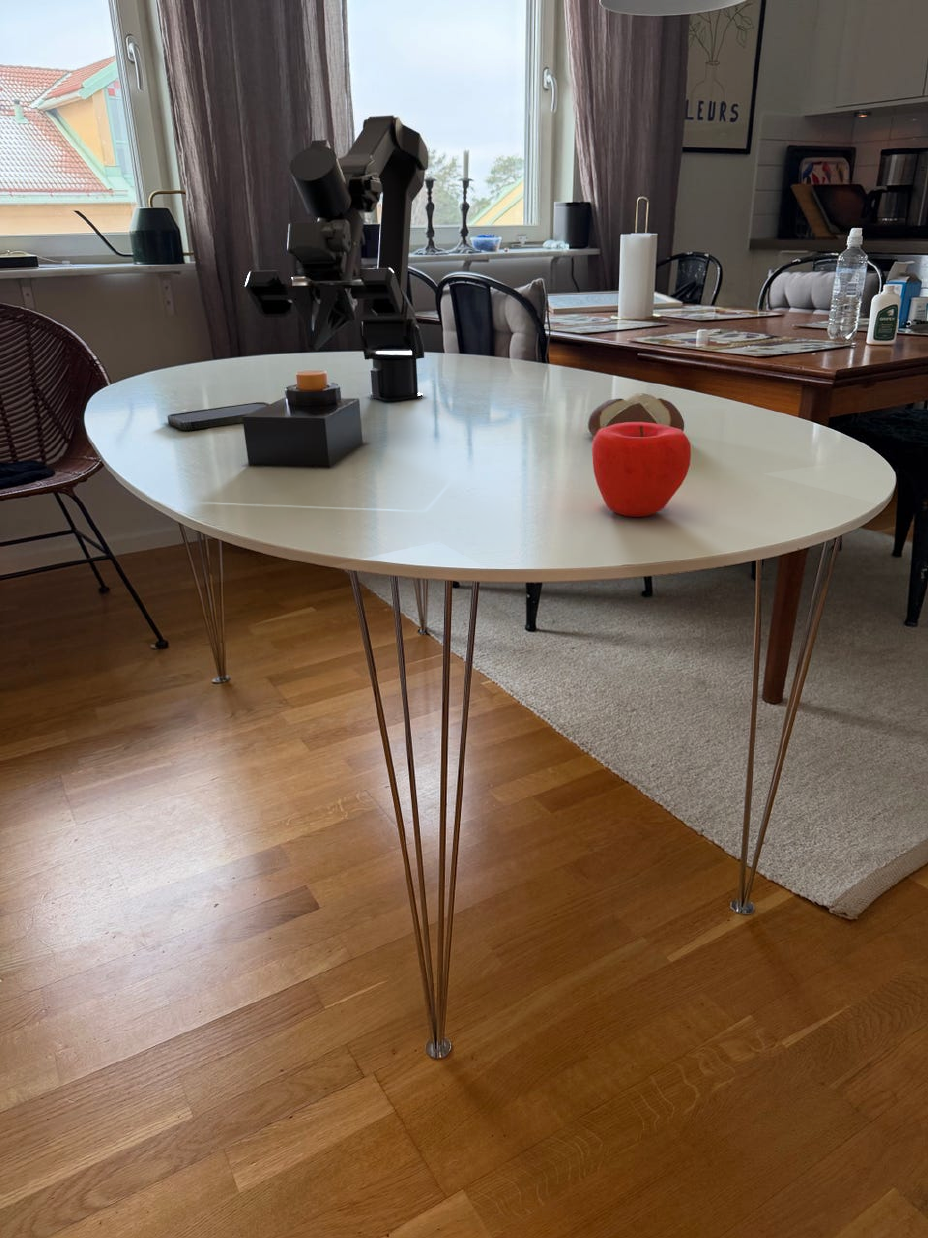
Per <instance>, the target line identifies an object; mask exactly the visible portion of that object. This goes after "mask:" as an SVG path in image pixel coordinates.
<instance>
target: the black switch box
mask: <svg viewBox="0 0 928 1238" xmlns="http://www.w3.org/2000/svg"><path fill="white" fill-rule="evenodd" d="M284 395H285V397H283V398H281V399H279V400H278V399H277V400H276V401H273V402H271V403H269V405H267V406H265V407H263V408H261V409H258V410H256V411H254V412H252V413H250V414H247V415H245V416H243V417H242V419H243V422H242V427H243V433H244V440H245V446H246V447H245V448H246V455H247V456H246V457H247V464H248V466H250V467H251V466H252V467H284V468H285V467H286V468H315V469H316V468H317V469H319V468H320V469H321V468H323V469H330V468H331V467H333V466H334V465H336V464H337V463H338V462H340V461H341V460H342V459H344V458H345V457H347V456H348V455H349V454H351V453H352V452H354V451H355V450H357V449H358V448H360V446H362V445H363V444H364V441H363V431H362V430H363V429H362V419H361V418H362V417H361V405H360V398H357V397H356V398H350V397H349V398H348V397H347V398H346V397H345V398H344V397H342V392H341V385H340V384H339V383H335V382H329V381H327V388H323V389H313V390H300V389H298V388H297V383H296V384H291V385H288V386H286V387H284Z"/></svg>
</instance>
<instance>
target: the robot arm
mask: <svg viewBox="0 0 928 1238" xmlns="http://www.w3.org/2000/svg"><path fill="white" fill-rule="evenodd" d="M428 168H429V150H428V147H427V144H426V142H425V140H424V139H423V137H422V135H421V134H420V133H419V132H418V131H416V130H414V129H413V128H411V127H409V126H407V125H405V124H404V123H403V121H402V120H401V118H400V117H399V116H395V115H394V114H393V115H392V114H391V115H378V116H369V117H368V118H365V119H363V122H362V130H361V131H360V133H359V134H358V136H357V137H356V139H355V141H354V142H353V143H352V145H351V147H350V149H349V150H348V152H347V153H346V154H345V155H344V156H342V157H339V158H338V156H337V153H336V152H335V151H334V149H332V148H331V146H330V143H329V141H328V139H318V140H316V139H315V140H311V143H310V146H309V147H307V148H304V149H302V150H301V151H299V152H298V153H297V154H296V155H295V156H294V157H293V158H292V159H291V160H290V163H289V172H290V174H291V178H292V179H293V181H294V184H295V186H296V188H297V190H298V193H299V195H300V198H301V200H302V203H303V205H304V208H305V209H306V212H307V215H308V216H310V217H311V216H312V217H315V218H317V221H316V220H315V221H293V222H292V221H291V222H290V223H288V232H287V247H286V252H287V253H288V254H289V255H291V256H292V257H294V259H295V260H296V265H295V269H296V271H297V273H298V276H292V277H291V279H290V281H291V282H292V283H287V282H286V279H285V278H284V276H283V273H282V271H281V270H279V269H277V270H275V269H274V270H273V269H272V270H250V271H249V273H248V275H247V278H246V281H245V285H244V288H245V289H246V291H247V293H248V294H249V297H250V298H251V300H252V302H253V303H254V305H255V307H256V309H257V311H258V312H259V314H260V315H261V316H262V317H264V318H267V319H268V318H286V317H288V316H289V315H290V314H292V312H293V309H294V308H295V310H296V312H297V315H298V316H299V318H300V320H301V321H303V327H304V333H305V339H306V347H307V348H308V350H309V352H317V351H318V350H319V349H320V348H321V347H322V346H323V345H324V344H325V343H326V342H328V340H329V339H330V338H331V337H332V336H333V335H334V334H335V333H337V332H338V331H339V330H340V329H341V328H343V327H344V326H345V325H346V324H348V323H349V322H354V321H355V320H356V319H357V314H356V312H355V310H356V306H358V300H363V304H362V305H363V311H362V317H361V320H360V321H359V322H360V323H359V336H360V341H361V346H362V352H363V356H364V360H366V361H367V360H372V368H370V380H371V382H370V383H371V393H370V397H371V398H374V399H378V400H380V401H384V402H388V403H389V402H397V401H404V400H411V399H419V398H423V397H424V394H423V393H421V392H419V385H418V383H419V382H418V366H417V363H418V362H417V360H418V359H419V360H420V359H424V358H425V342H424V339H423V336H422V332H421V329H420V327H419V324H418V322H417V319H416V312H415V310H414V308H413V306H412V304H411V302H410V300H409V298H408V296H407V287H408V274H409V273H408V271H409V258H410V257H409V256H410V240H411V223H412V211H413V210H412V209H413V208H412V206H413V201H414V200H415V199H416V197H417V196H418V194H419V193H420V192H421V190H422V189H423V187H424V184H425V175H426V171H428ZM380 200H381V203H380V204H381V207H380V220H379V221H380V223H379V236H378V237H379V239H378V253H377V267H369V268H368V267H367V268H365V267H364V268H363V267H362V268H360V270H359V268H358V265H357V257H358V252H359V248H360V246H365V244H366V238H365V235H364V232H363V229H364V225H365V223H364V221H365V220H364V218H363V216H362V214H367V213H368V214H369V213H373V212H374V211H375V210H376V208H377V205H378V203H379V202H380ZM358 273H359V275H358ZM299 275H300V276H299ZM357 276H358V277H359V278H358V279H353V277H357Z"/></svg>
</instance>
